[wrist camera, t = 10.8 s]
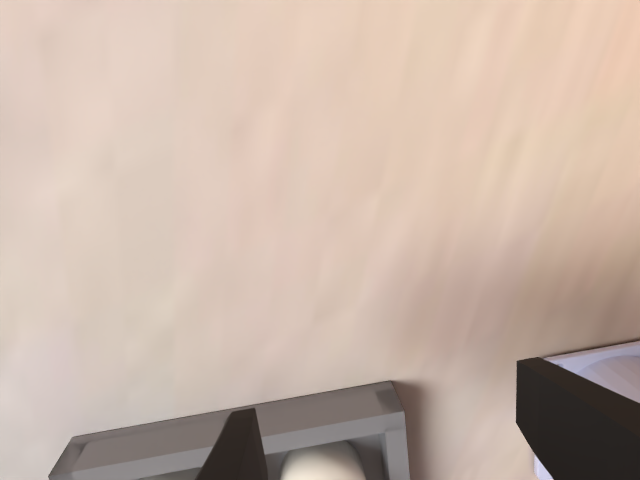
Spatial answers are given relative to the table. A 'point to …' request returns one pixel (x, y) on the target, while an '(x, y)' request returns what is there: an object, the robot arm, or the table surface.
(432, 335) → the table surface
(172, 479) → the cream egg
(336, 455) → the cream egg
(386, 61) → the table surface
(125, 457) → the egg tray
